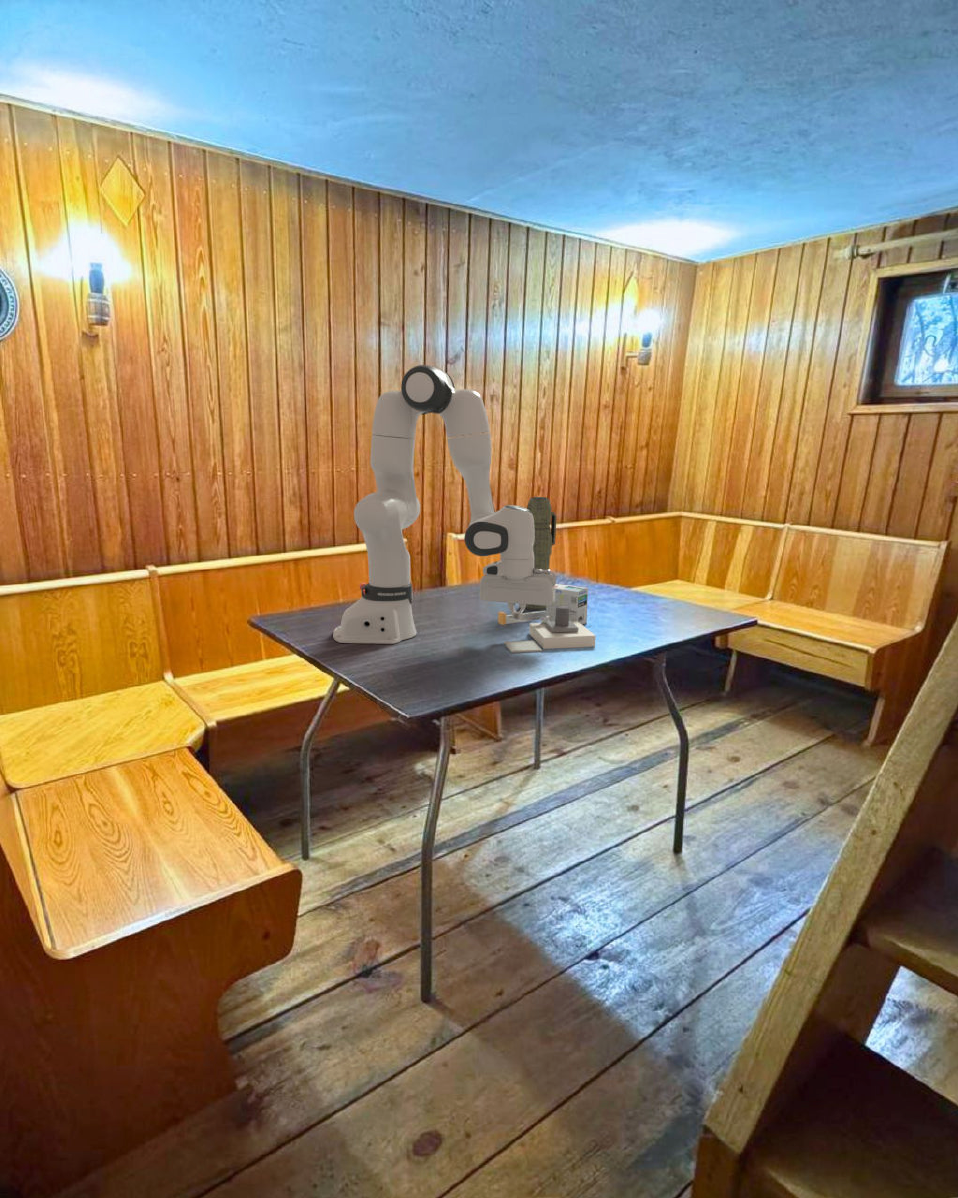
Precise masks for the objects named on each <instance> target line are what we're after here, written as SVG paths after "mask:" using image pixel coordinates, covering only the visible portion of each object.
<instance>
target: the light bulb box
mask: <svg viewBox="0 0 958 1198" xmlns="http://www.w3.org/2000/svg"><path fill="white" fill-rule="evenodd" d="M588 596H589V588H588V587H583V586H582V587H581V586H575V585H569V584H559V583H556V584H555V602H554V603H553V604H552V605H550V606H546V610H545V611H547V616H550V621H555V617H556V607H558V606H566V607H569V621H571V622H577V621H578V622H579V623H580V624H582V625H583V626H584V624H587V619H588V602H589V601H588V599H589V598H588Z"/></svg>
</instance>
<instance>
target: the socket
mask: <svg viewBox="0 0 958 1198" xmlns="http://www.w3.org/2000/svg"><path fill="white" fill-rule="evenodd" d="M572 623H573V624H575V625H576V626H577V627H578V628H579V629H578V632H552V631H551V630H550V629H549V628H548V627H547V626H546V624H542V623H541V622H530V623H529V630H528V632H529V633H528V634H529V636H531V637H532V638H533V640H534V641H535V642H536V643H537V645H538V646H539V647H540V648H541V649H542V650H550V649H551V650H552V649H553V650H554V649H572V648H590V647H591V648H594V647H595V646H596V634H594V633H593V632H592V631H590V630H589V629H588V628H586V627H585V626H584V624H583V625H582V624H580V623H579V622H578V621H577V622H572Z"/></svg>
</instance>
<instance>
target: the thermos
mask: <svg viewBox="0 0 958 1198" xmlns="http://www.w3.org/2000/svg"><path fill="white" fill-rule="evenodd" d="M551 504H552V503H551V501H550V499H549V498H548V497H546V496H532V497H531V498H529V500H528V503H527V506H526V508H527V509H528V510H529V511H530V512H531V513H532V515H533V518H534V529H535V540H534V544H533V552H534V569H541V570H550V562H551V558H550V557H551V555H552V550H553V546H554V545H555V544H556V537H557V536H556V534H557V533H556V532H557V515H556V513H555V512H554V511H552V505H551ZM542 574H543V573H542ZM524 610H528V611H546V605H533V604H526V607H525V609H524Z"/></svg>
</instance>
